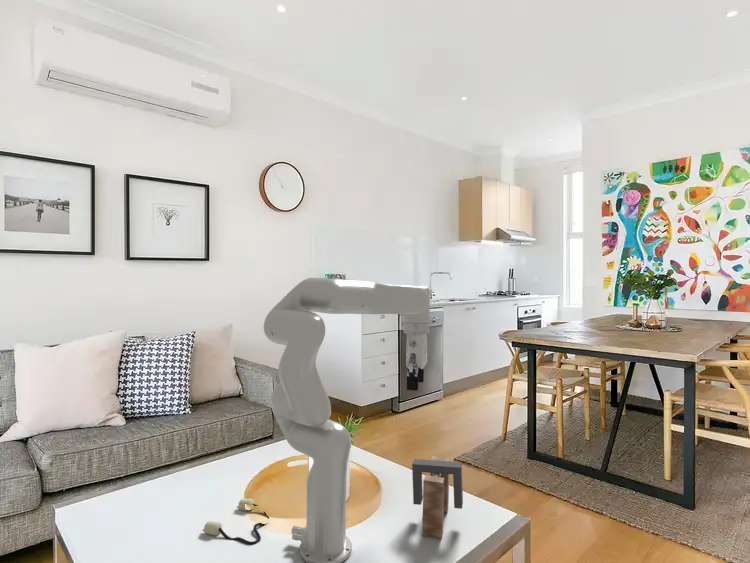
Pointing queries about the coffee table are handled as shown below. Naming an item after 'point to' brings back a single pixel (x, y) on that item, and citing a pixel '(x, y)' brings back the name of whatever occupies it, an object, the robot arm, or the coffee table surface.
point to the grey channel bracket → (441, 468)
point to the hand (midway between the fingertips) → (415, 385)
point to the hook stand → (435, 502)
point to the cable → (216, 529)
